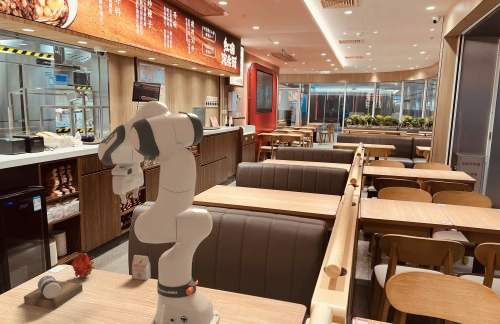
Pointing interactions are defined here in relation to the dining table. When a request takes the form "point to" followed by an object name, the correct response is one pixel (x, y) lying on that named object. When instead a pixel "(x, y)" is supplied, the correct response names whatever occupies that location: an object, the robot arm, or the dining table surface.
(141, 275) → the tea bag
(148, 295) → the dining table surface
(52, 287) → the beverage can
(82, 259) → the dragon fruit
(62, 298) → the walnut base
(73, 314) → the dining table surface
